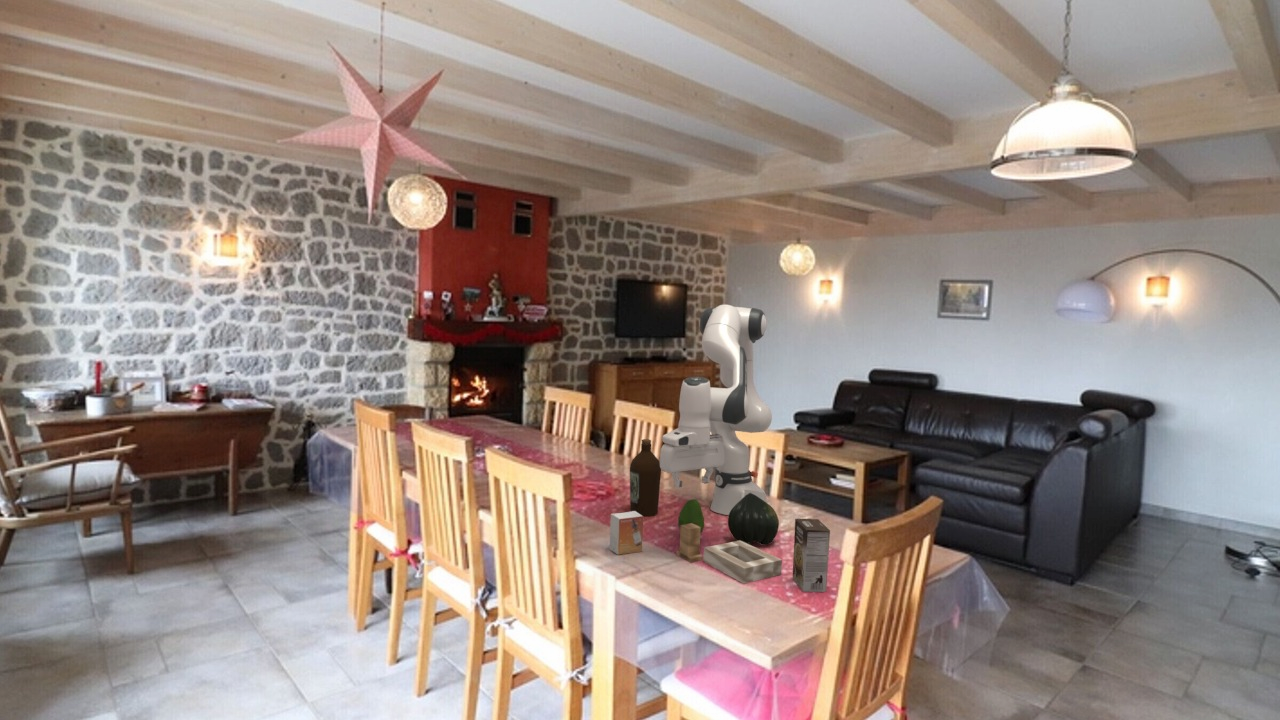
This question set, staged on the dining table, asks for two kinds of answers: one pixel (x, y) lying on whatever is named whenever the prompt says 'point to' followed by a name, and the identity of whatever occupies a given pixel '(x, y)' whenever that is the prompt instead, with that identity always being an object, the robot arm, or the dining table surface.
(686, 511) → the avocado
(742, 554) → the rectangular frame
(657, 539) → the dining table surface
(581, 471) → the dining table surface
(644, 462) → the olive oil
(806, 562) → the coffee box
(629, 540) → the small box
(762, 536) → the squash
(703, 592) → the dining table surface
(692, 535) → the tan wooden block
